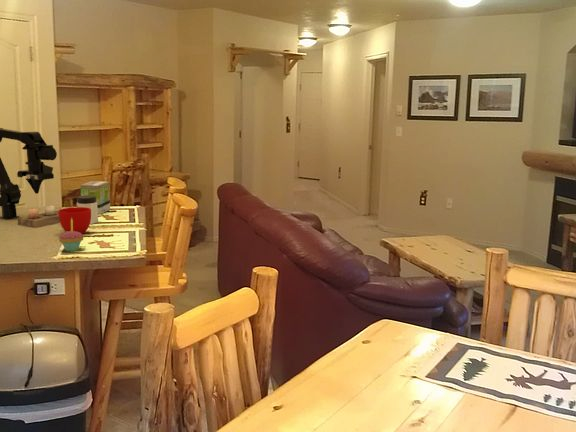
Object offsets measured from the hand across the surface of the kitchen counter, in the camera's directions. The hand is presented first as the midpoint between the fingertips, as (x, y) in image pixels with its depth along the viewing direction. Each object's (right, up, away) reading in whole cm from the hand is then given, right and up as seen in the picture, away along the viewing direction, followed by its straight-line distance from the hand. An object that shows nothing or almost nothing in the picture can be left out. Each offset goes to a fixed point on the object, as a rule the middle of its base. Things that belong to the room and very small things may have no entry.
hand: (36, 193), depth 276 cm
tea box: (+20, -9, +23) cm, 32 cm away
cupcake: (+35, -23, -51) cm, 66 cm away
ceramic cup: (+25, -18, -23) cm, 38 cm away
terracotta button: (+2, -11, -8) cm, 14 cm away
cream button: (+6, -10, -1) cm, 12 cm away
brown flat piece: (+6, -13, 0) cm, 14 cm away
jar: (+25, -14, -3) cm, 28 cm away
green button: (+11, -11, +7) cm, 17 cm away
